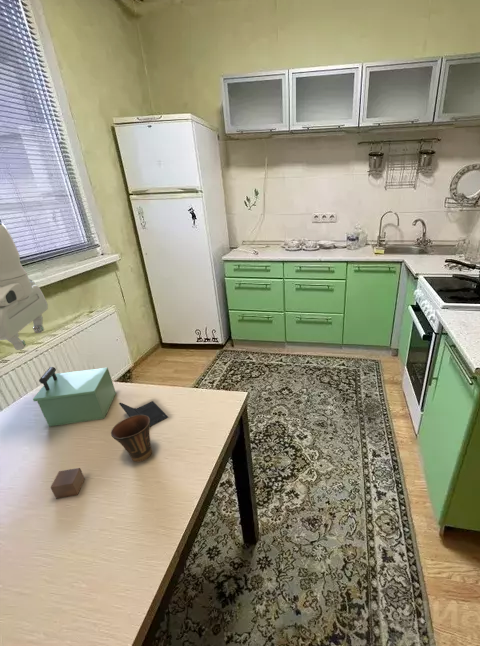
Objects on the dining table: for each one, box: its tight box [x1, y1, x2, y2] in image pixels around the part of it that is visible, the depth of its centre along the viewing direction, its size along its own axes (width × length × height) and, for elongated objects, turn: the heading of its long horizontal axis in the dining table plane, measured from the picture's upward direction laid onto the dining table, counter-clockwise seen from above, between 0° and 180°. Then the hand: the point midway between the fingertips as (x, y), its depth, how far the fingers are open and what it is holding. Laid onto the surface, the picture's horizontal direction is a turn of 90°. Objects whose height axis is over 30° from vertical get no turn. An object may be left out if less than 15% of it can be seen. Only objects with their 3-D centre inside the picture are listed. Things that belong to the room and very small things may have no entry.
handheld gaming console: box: [118, 400, 169, 428], centre depth 93 cm, size 12×7×10 cm
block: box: [50, 467, 86, 499], centre depth 72 cm, size 4×4×4 cm
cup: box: [110, 415, 153, 463], centre depth 80 cm, size 9×9×10 cm
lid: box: [32, 366, 109, 402], centre depth 93 cm, size 15×13×5 cm
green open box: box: [36, 369, 117, 427], centre depth 96 cm, size 15×13×10 cm
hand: (31, 339), depth 83 cm, fingers open, 8 cm apart
